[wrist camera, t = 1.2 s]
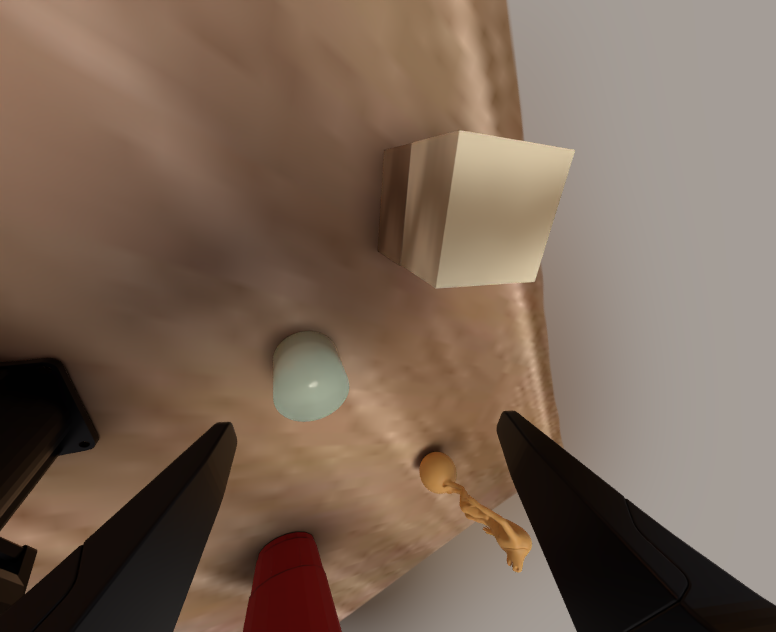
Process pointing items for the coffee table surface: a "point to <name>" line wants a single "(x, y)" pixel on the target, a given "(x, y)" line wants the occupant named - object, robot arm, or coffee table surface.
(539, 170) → the birch block
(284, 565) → the plastic cup
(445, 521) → the coffee table surface
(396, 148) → the walnut block
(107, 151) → the coffee table surface
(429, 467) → the figurine
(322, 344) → the stubby sage cylinder
